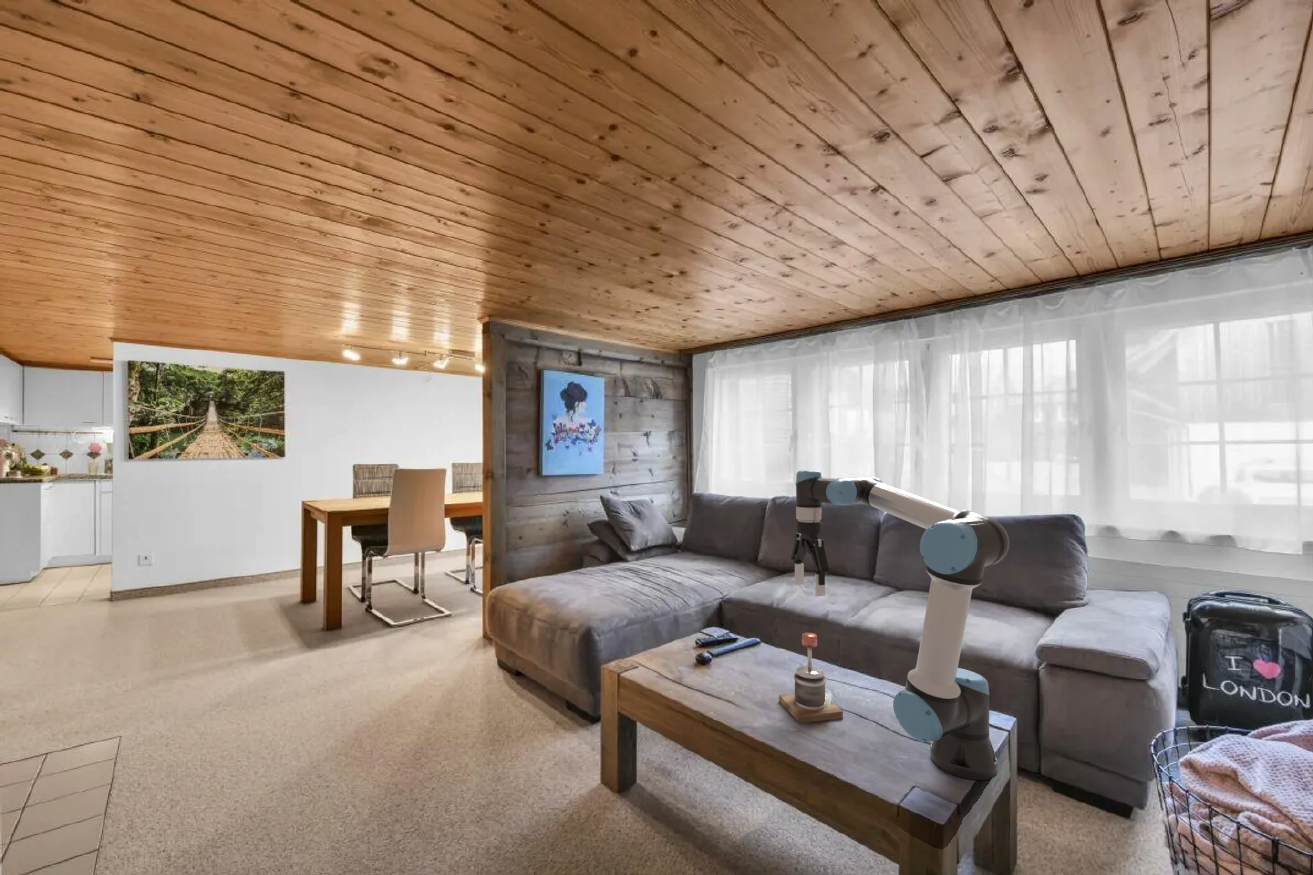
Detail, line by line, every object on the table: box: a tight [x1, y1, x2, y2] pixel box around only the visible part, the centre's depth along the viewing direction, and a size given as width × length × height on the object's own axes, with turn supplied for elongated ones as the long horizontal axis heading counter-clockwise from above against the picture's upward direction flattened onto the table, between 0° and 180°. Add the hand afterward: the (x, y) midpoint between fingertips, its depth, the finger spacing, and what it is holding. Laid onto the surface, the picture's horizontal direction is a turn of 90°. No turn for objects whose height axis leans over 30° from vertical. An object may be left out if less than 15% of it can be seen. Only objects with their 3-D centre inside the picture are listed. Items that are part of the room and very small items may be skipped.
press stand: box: [778, 672, 844, 724], centre depth 169 cm, size 14×14×10 cm
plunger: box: [795, 632, 824, 679], centre depth 170 cm, size 8×8×12 cm
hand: (809, 589), depth 170 cm, fingers open, 13 cm apart
